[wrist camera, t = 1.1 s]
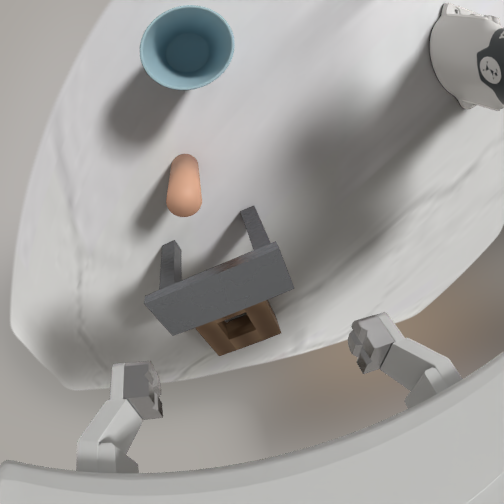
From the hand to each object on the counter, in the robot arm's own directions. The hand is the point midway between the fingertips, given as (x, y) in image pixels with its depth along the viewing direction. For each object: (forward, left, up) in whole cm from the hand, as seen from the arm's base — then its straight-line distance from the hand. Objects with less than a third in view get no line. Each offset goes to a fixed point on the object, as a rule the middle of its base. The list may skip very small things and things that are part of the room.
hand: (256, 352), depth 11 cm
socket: (+8, +27, -29) cm, 41 cm away
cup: (-2, -12, -30) cm, 32 cm away
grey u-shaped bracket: (+5, +11, -29) cm, 32 cm away
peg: (+4, +1, -30) cm, 30 cm away
